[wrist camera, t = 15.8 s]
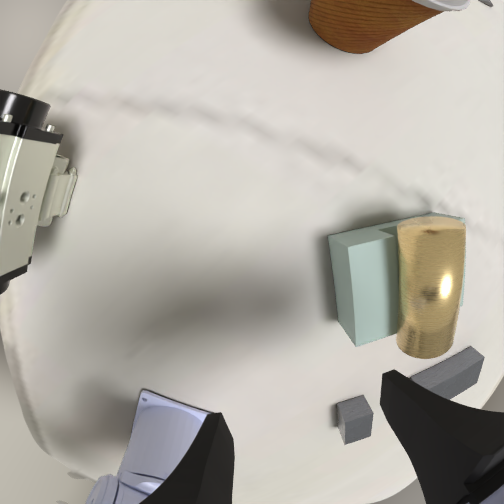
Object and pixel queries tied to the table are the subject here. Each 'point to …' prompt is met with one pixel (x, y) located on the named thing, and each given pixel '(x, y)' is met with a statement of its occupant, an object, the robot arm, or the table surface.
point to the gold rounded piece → (429, 284)
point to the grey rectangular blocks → (434, 379)
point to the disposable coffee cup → (372, 20)
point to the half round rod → (487, 2)
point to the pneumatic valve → (28, 180)
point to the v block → (369, 279)
